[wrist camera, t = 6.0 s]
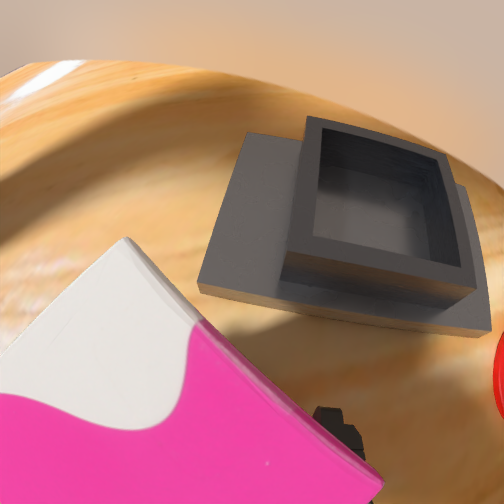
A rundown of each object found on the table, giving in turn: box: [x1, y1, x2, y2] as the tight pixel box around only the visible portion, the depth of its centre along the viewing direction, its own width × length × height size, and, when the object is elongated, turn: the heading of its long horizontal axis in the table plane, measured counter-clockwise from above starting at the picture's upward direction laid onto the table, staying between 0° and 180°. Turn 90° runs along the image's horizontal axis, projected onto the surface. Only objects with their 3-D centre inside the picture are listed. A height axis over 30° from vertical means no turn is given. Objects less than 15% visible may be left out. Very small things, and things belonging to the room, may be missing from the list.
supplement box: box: [0, 237, 385, 504], centre depth 8 cm, size 6×6×12 cm
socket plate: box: [197, 116, 492, 338], centre depth 17 cm, size 18×12×4 cm, turn 78°
